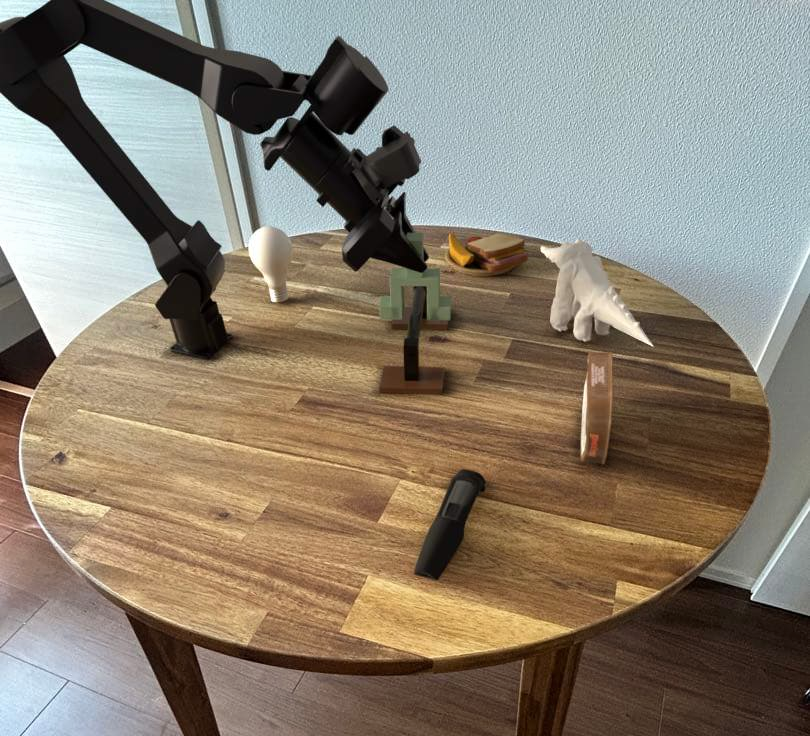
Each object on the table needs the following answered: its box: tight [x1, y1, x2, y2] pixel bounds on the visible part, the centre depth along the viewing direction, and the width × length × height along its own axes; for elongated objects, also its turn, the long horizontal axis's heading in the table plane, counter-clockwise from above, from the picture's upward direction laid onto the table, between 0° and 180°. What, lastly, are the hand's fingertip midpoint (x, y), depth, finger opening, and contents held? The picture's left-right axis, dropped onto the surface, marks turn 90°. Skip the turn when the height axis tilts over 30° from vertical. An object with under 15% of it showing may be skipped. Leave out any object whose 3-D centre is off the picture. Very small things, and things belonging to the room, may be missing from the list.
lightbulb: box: [248, 225, 294, 304], centre depth 96 cm, size 6×6×11 cm
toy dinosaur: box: [540, 238, 655, 348], centre depth 86 cm, size 7×24×11 cm, turn 28°
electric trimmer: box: [413, 468, 487, 581], centre depth 64 cm, size 4×16×3 cm, turn 159°
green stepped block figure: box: [378, 232, 452, 321], centre depth 82 cm, size 9×3×10 cm, turn 85°
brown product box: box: [579, 351, 614, 465], centre depth 72 cm, size 15×3×8 cm, turn 168°
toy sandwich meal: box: [444, 232, 529, 277], centre depth 105 cm, size 12×14×5 cm
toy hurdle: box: [378, 286, 449, 395], centre depth 87 cm, size 8×21×6 cm, turn 175°
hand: (425, 265), depth 80 cm, fingers closed on green stepped block figure, 2 cm apart
